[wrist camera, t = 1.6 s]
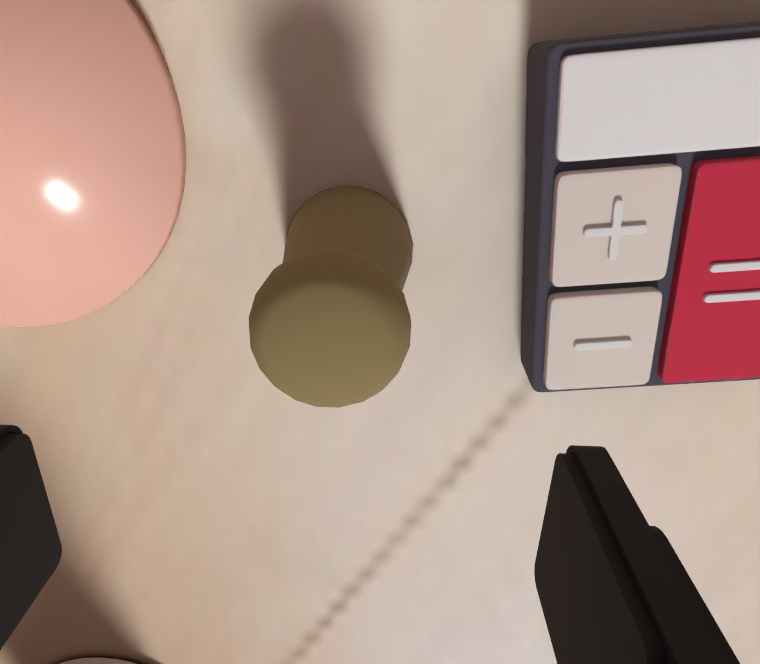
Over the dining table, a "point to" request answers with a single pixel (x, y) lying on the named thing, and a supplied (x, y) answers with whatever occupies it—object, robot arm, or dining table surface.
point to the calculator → (642, 209)
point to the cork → (336, 301)
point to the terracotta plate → (82, 156)
